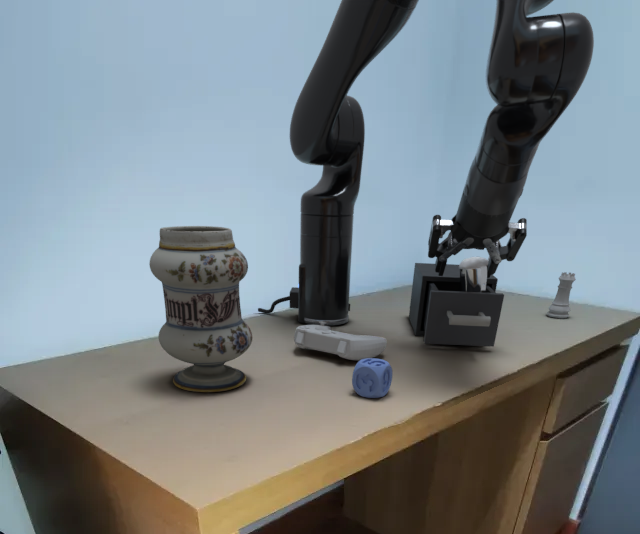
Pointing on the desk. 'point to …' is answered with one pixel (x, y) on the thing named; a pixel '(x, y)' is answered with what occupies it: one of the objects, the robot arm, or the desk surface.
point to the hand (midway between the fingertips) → (463, 272)
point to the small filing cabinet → (420, 278)
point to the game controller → (338, 342)
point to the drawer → (460, 315)
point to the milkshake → (473, 274)
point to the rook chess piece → (562, 297)
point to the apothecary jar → (202, 305)
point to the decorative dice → (372, 377)
